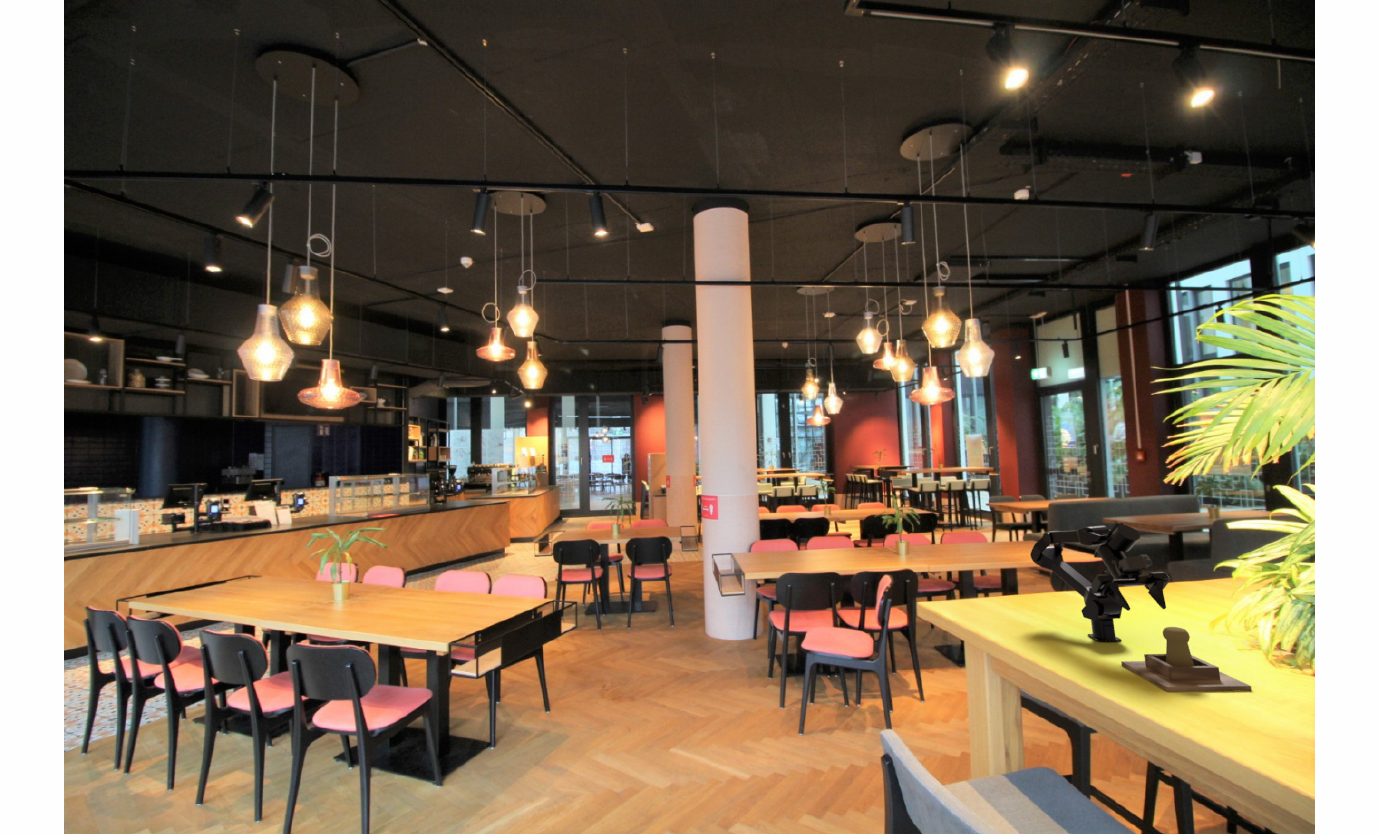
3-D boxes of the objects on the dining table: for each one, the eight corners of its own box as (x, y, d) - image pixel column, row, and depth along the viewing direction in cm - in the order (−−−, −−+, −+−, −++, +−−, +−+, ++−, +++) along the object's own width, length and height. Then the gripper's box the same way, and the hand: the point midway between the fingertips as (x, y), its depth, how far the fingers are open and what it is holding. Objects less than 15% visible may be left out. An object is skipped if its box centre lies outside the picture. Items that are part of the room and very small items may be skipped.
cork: (1203, 674, 143) (1196, 629, 144) (1186, 678, 141) (1180, 632, 142) (1176, 666, 149) (1170, 623, 150) (1159, 670, 147) (1154, 626, 148)
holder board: (1121, 665, 155) (1119, 649, 155) (1195, 663, 153) (1193, 648, 153) (1167, 691, 137) (1165, 674, 138) (1251, 690, 135) (1249, 672, 135)
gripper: (1091, 546, 166) (1121, 594, 154) (1161, 543, 164) (1196, 591, 152) (1079, 569, 173) (1107, 616, 161) (1145, 566, 171) (1178, 613, 160)
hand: (1147, 609), depth 158 cm, fingers open, 9 cm apart
